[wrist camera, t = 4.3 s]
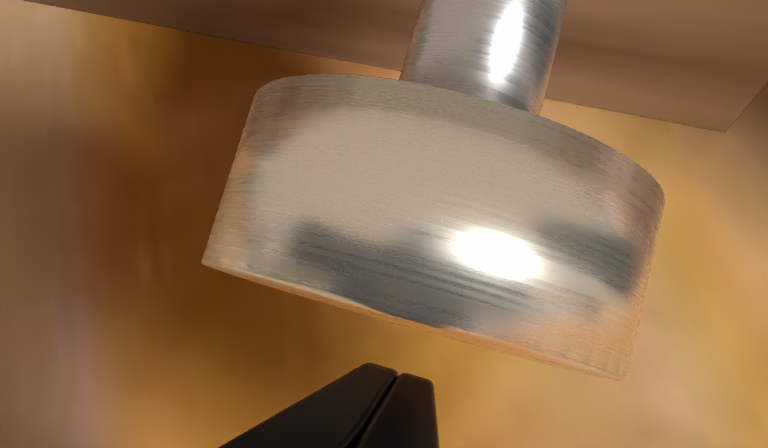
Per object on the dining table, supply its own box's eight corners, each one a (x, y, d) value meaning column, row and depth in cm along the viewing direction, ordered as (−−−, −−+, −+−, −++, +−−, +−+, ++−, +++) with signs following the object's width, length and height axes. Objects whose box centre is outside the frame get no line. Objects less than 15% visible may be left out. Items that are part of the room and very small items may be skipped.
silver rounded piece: (599, 379, 10) (667, 384, 5) (284, 293, 11) (111, 233, 7) (706, -93, 11) (839, -431, 7) (409, -128, 13) (339, -439, 8)
